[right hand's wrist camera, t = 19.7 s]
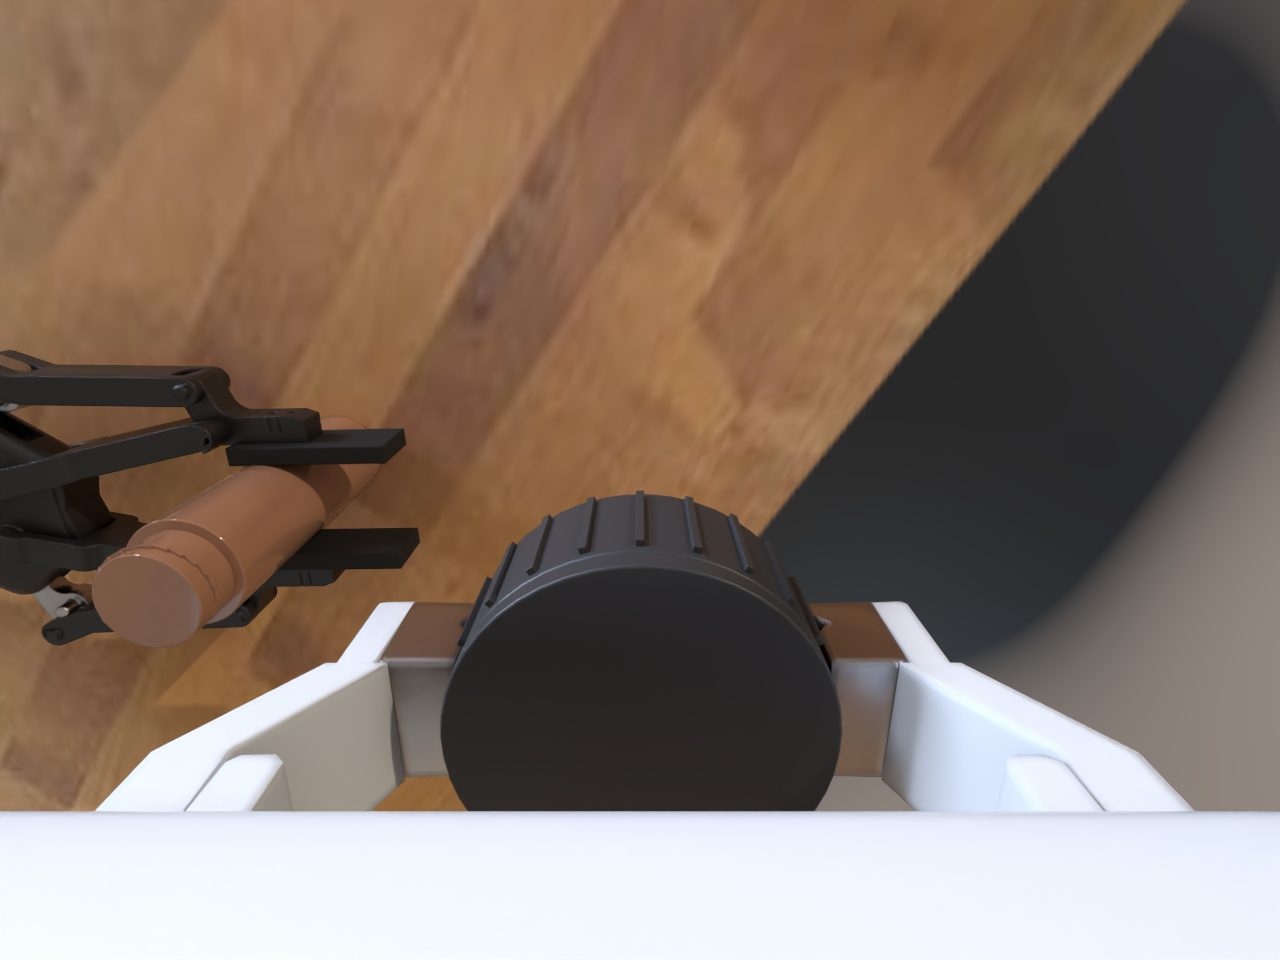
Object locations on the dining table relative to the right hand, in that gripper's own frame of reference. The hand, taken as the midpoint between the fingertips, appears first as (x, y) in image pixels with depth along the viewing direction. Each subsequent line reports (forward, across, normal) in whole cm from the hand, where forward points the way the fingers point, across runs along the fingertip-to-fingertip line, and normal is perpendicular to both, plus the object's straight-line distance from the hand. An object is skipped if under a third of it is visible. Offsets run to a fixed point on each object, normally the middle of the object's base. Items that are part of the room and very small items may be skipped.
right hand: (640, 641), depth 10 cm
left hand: (+19, +11, +5) cm, 23 cm away
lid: (-2, 0, 0) cm, 2 cm away
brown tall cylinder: (+26, +16, +5) cm, 31 cm away
